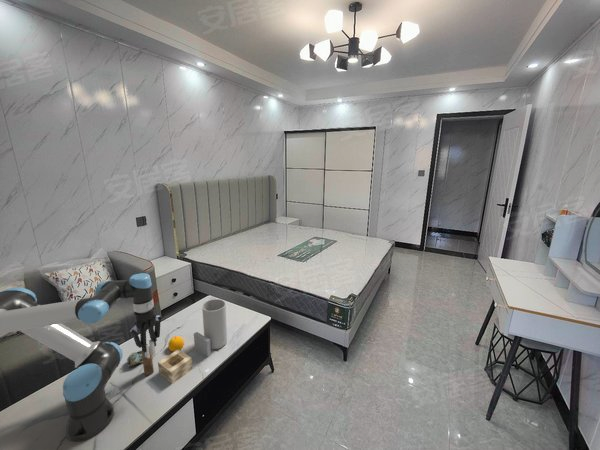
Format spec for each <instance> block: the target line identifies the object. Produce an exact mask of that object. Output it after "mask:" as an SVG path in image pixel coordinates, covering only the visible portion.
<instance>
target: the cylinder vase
mask: <svg viewBox="0 0 600 450" xmlns="http://www.w3.org/2000/svg"><path fill="white" fill-rule="evenodd" d="M201 308H202V310H201V311H202V322H203V325H202V326H203V336H205V337H207V338H208V339H210V348H211V350H213V351H214V350H218V349H221V348H223V347H224V346H225V345H226V344H227V342H228V331H227V330H228V326H227V311H226V310H227V308H226V301H225V300H224V299H220V298H218V299H217V298H215V299H209V300H207V301H205V302H204V303H202V306H201Z"/></svg>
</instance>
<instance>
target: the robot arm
mask: <svg viewBox="0 0 600 450" xmlns="http://www.w3.org/2000/svg"><path fill="white" fill-rule="evenodd" d="M152 283H153V282H152V280H151V275H150V274H149V273H145V272H141V273H135V274H133V275H131V276H130V277H129V279H124V280H123V279H121V280H107V281H101V282H99V283H98V284H97V286H96V287H95V290H94V295H93V296H91V297H87V298H79V299H74V300H73V299H72V300H66V301H61V302H60V301H59V302H54V303H48V304H39V303H37V301H38V299H37V298H38V297H37V296H36V293H35V292H33V291H31V290H30V289H28V288H25V287H18V286H16V287H10V288H7V289H6V288H5V289H4V290H2V291H0V338H1V337H3V336H5V335H6V334H8V333H13V332H20V333H21V332H22V333H23V334H24V335H26V336H28V337H30V338H32V339H34V340H35V341H36V342H37V341H38V342H39V343H41V344H43V345H45V346H46V347H48V348H50V349H51V350H53V351H55V352H56V353H58V354H61V355H62V356H64V357H66V358H67V359H69V360H71V361H73V362H74V368H75V369H74V370H72V371H71V372H70V373H69V374H68V375H67V376H66V377H65V379H64V380H63V384H62V395H63V397H64V399H65V405H66V410H67V413H68V417H67V418H68V419H67V423H66V427H65V433H66V437H67V438H68V440H70V441H72V442H82V441H86V440H89V439H90V438H93V437H95V436H97V435H98V434H99V433H101V432H102V431H104V429H106V428H107V427H108V426H109V424H110V423H111V422H112V420H113V418H114V416H115V409H114V408H115V407H114V405H113V404H112V403H111V401H110V400H109V399H108V398H107V396H106V392H105V391H106V390H105V387H106V386H107V384H108V382H109V380H110V379H111V377H112V375H113V374H114V372H115V371H116V370H117V368H118V367H119V365H120V363H121V361H122V358H123V349H122V348H121V346H120V345H119V344H117V343H115V342H112V341H110V342H109V341H105V342H102V341H99V340H98V341H91V340H90V339H88V338H86V337H84V335H82V334H79V332H77V331H75V330H73V329H71V328H70V327H68V326H67V325H65V324H66V323H72V322H79V321H81V322H83V323H84V324H90V325H92V324H95V323H98V322H100V321H101V320H102V319H103V318H104V317H106V315H107V314H108V313H109V312H110V310H112V308H113V307H114V306H115V304H116V303H118V302H119V301H120V300H123V299H126V300H127V299H131V301H132V306H133V307H132V308H133V315H134V320H135V322H134V326H133V327H132V328H129V329H128V331H129V332H130V333H131V334H132V337H133V341H134V343H135V346H136V347H138V348H139V349H140V348H141V351H143V352H144V353H145V356H146V357H147V358H150V354H149V346H150V352H151V353H152V354H153V355H156V348H155V347H156V346H157V341H158V340H157V339H158V338H160V337H161V322H162V319H163V316H161V315H159V314H157V315H156V312H155V303H154V297H153V296H154V295H153V288H152V287H153V285H152ZM138 329H139V331H140V332H139V333H140V334H139V333H138ZM147 330H148V331H147ZM147 332H148V334H149V337H150V339H149V340H148V343H147ZM139 335H140V336H139Z"/></svg>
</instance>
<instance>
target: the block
mask: <svg viewBox="0 0 600 450" xmlns="http://www.w3.org/2000/svg"><path fill="white" fill-rule="evenodd" d="M157 365H158V374H159V373H160V374H161V375H162V376H163V377H165V378H166V379H167V380H168V381H170V382H171V383H173V384H174V383H176V382H177V381H178V380H179V379H181V378H182V377H183V375H184V376H185V375H186V374H187V372H188V373H189V372H190V371H191V369H192V370H193V369H194V368H192V358H191V357H189V356H188V355H187V354H186V353H185V352H183V351H182V350H179V349H178V350H176V351H175V352H173V351H172V353H170V354H169V355H167V356H166V357H164V358H162V359H161V360H160V361H158V362H157Z"/></svg>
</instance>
